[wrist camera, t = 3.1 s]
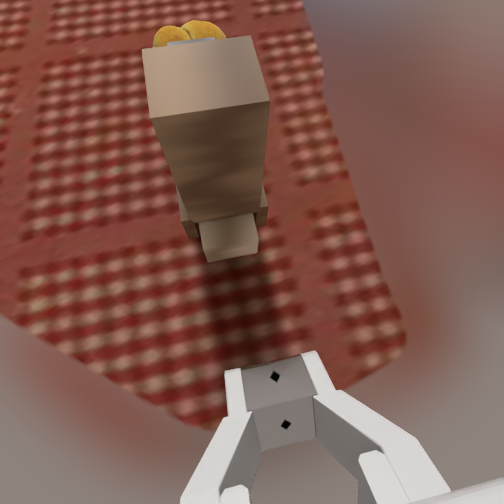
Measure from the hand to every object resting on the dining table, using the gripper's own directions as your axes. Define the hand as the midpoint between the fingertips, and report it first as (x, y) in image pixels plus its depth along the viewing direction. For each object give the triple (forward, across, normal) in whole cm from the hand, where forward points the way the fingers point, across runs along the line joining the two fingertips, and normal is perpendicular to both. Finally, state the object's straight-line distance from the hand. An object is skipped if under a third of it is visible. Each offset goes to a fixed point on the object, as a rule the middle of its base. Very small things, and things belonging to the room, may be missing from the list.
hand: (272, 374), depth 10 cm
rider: (+17, 0, -1) cm, 17 cm away
